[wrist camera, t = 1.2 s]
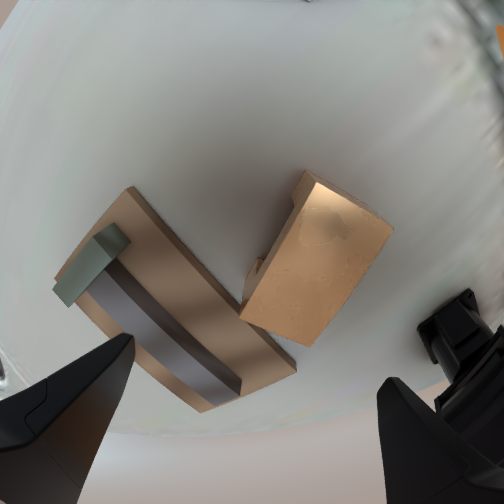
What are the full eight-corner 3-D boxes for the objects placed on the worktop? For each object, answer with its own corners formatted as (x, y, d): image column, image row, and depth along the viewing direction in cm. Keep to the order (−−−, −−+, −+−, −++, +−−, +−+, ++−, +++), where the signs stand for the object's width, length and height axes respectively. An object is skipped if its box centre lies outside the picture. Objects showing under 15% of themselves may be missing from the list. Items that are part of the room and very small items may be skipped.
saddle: (367, 205, 19) (394, 228, 14) (303, 305, 22) (309, 347, 18) (305, 169, 18) (316, 182, 14) (245, 278, 22) (238, 317, 17)
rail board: (296, 362, 25) (298, 397, 21) (202, 404, 28) (195, 435, 24) (132, 186, 19) (103, 199, 16) (61, 272, 23) (35, 294, 19)
